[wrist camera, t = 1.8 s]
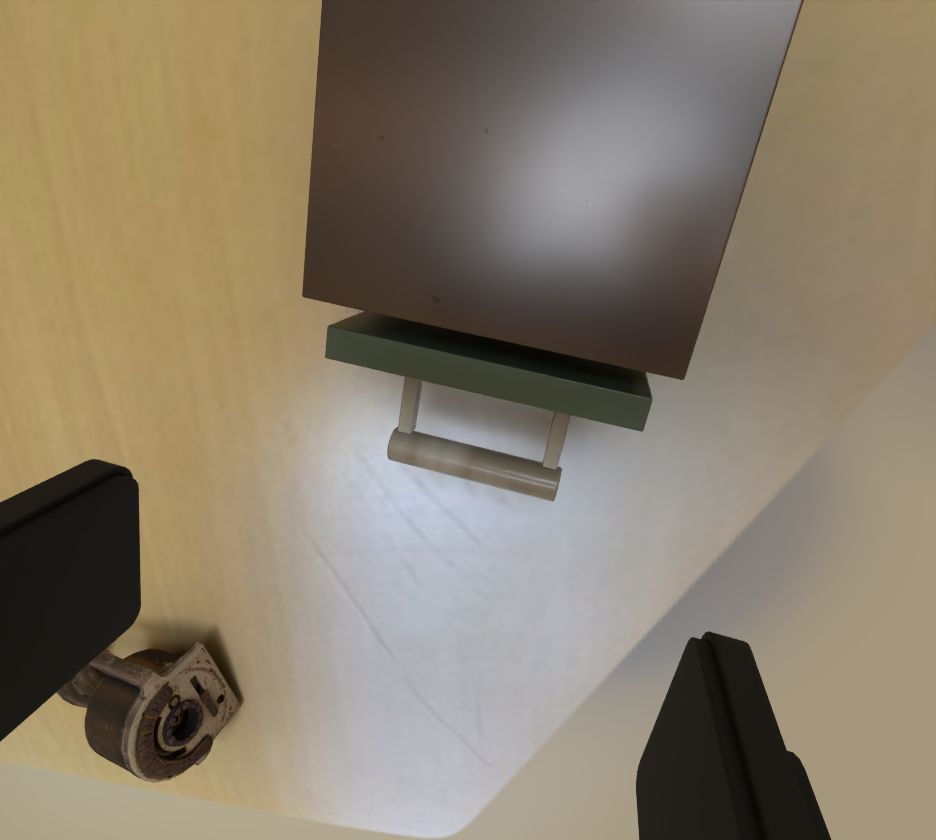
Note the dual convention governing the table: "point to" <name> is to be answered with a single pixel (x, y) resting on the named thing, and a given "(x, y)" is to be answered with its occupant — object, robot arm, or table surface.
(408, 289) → the cabinet
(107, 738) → the mechanical counter
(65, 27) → the table surface
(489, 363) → the drawer
